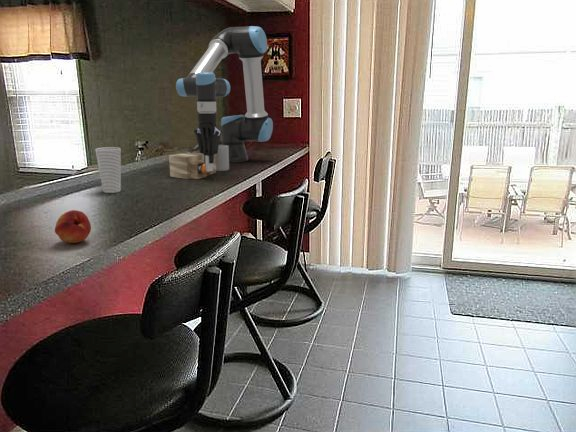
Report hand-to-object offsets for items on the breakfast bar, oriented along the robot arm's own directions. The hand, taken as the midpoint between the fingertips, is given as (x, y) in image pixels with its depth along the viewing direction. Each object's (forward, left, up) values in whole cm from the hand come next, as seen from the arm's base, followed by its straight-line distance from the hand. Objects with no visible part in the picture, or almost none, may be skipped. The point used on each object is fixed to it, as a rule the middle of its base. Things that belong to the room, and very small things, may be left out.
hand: (209, 171), depth 192 cm
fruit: (+81, +29, -4) cm, 86 cm away
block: (-4, -11, -3) cm, 12 cm away
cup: (+38, -13, -4) cm, 40 cm away
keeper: (-9, -12, +9) cm, 17 cm away
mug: (-20, -14, -4) cm, 24 cm away
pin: (0, -9, -2) cm, 9 cm away
